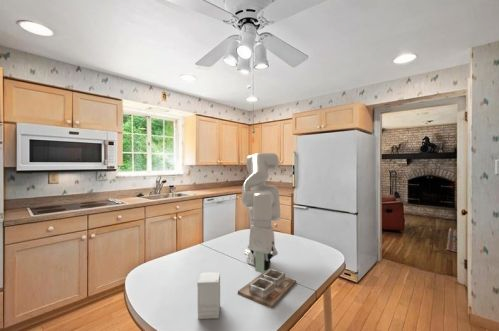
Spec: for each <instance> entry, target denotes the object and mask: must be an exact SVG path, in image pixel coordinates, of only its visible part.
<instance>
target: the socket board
mask: <svg viewBox="0 0 499 331" xmlns="http://www.w3.org/2000/svg"><path fill="white" fill-rule="evenodd" d="M296 284H297V280H295V279H292V278H290V277H286V272H283V271H280V270H276V269H273V268H269V270H268V271H267V272H265V273H264V274H263V273H260V274H259V275H257V276H256V277H255V278H254V279H252V280H251V281H250V282H248V283H247V284H245V285H244V286H243V287H241V288H240V289H238V290H237V295H240V296H242V297H245V298H247V299H249V300H252V301H253V302H256V303H259V304H261V305H264V306H265V307H266V306H267V307H269V308H271V309H272V308H273V307H275V305H277V303H278V302H279V301H281V299H282V298H283V297H285V295H286V294H287V293H288V292H289V291H290V290H291V289H292V288H293V287H294V286H295V285H296Z"/></svg>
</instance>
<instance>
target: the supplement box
mask: <svg viewBox="0 0 499 331" xmlns="http://www.w3.org/2000/svg"><path fill="white" fill-rule="evenodd" d="M220 310H221V272H218V271H217V272H201V273H200V275H199V278H198V281H197V319H198V320H200V319H201V320H203V319H205V320H206V319H210V320H211V319H219V318H220V312H221V311H220Z"/></svg>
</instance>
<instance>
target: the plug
mask: <svg viewBox="0 0 499 331" xmlns="http://www.w3.org/2000/svg"><path fill="white" fill-rule="evenodd" d="M265 260H266V259H265V254H264V253H260V252H256V251H255V266H254V268H255V270H254V271H255V272H257V273H260V274H262V273H263V274H264V273H265V272H267V271H268V270H270V268H269V269H268V270H266V271H265V270H264V261H265Z"/></svg>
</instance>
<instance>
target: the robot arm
mask: <svg viewBox="0 0 499 331" xmlns="http://www.w3.org/2000/svg"><path fill="white" fill-rule="evenodd" d="M245 161H246V164H245V165H246V168H247V172H248V174H249V176H248V177H247V178H246V179H245V181H244V182H243V184H242V188H241V204H242V205H243V207H244V208H247V209H248V211H247V212H248V218H249V238H248V239H249V240H248V245H247V249H245V252H244V255H245V256H247V259H246V262H247V263H248V264H249V265H251V266H253V267H255V251H256V252H260V253H264V254H265V259H266V260H265V261H264V270H265V271H266V270H268V269H269V270H270V269H271V259H272V258H274V257H276V256H277V255H278V254H279V252H278V250H277V249H276V246H275V245H276V244H275V243H276V241H275V240H276V239H275V233H274V232H275V231H274V227H273V226H272V222H278V221H279V220H280V219H281V201H280V200H281V198H280V191H279V188H278V187H277V186H276V185H273V184H266V181H267V180H268V179H269V176H270V174H269V170H277V169H278V168H279V164H280V160H279V156H278V155H277V153H275V152H258V153H254V154H250V155H248V156H247V157H246V160H245Z"/></svg>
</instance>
